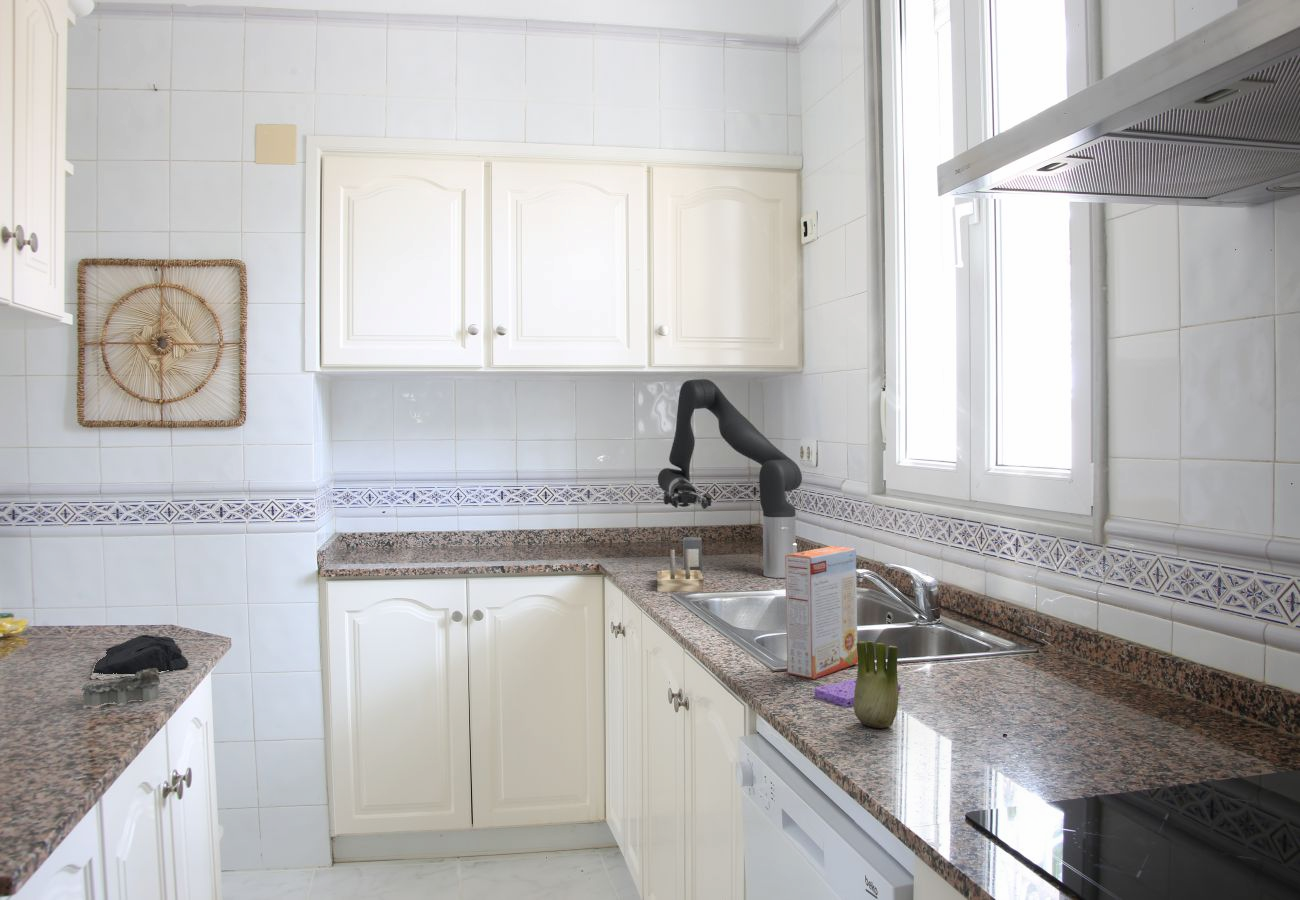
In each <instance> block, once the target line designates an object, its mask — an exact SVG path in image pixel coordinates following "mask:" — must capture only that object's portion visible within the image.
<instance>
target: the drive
mask: <svg viewBox="0 0 1300 900" xmlns="http://www.w3.org/2000/svg"><path fill="white" fill-rule="evenodd" d="M682 541H683V543H682V544H683V546H682V550H683V553H682V554H683V555H682V556H683V559H682V561H683V563H682V564H683V570H685V550H686V549H689V550H690V570H701V573H702V574H703V564H702V563H703V557H702V556H703V549H702V548H703V547H702V544H703V542H702V541H703V540H702V537H701V536H693V537H692V536H690V537H689V536H688V537H687V536H685V537H683V539H682Z"/></svg>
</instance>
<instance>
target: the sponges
mask: <svg viewBox="0 0 1300 900" xmlns="http://www.w3.org/2000/svg"><path fill="white" fill-rule="evenodd" d="M856 680H857V678H854V679H851V680H845V681H841V682H837V683H830V684H827V685H826V684H825V685H822V686H816V687H814V688H813V689H814V691H813V695H814V698H818V699H821V700H824V701H828V702H830V703H834V704H837V705H841V706H844V707H845V708H847V707H848V708H849V707H854V693H855V685H856ZM901 689H902V687H901V684H898V694H899V693H900V692H901Z"/></svg>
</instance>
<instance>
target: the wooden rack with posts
mask: <svg viewBox="0 0 1300 900" xmlns="http://www.w3.org/2000/svg"><path fill="white" fill-rule="evenodd" d="M675 553H676V549H670V550H669V554H670V555H669V560H670V561H669V566H670V567H669V569H667V570H663V569H662V570H657V575H656V576H657V577H656V578H657V579H656V581H657V585H656V587H657V592H662V593H663V592H664V593H665V592H700V591H699V590H704V577H703V572H702V573H701V570H690V550H689V549H686V550H685V570H681V569H677V570H676V568H675V567H676V559H675V558H676V554H675ZM704 591H705V590H704Z"/></svg>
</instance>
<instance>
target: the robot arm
mask: <svg viewBox="0 0 1300 900" xmlns="http://www.w3.org/2000/svg"><path fill="white" fill-rule="evenodd" d="M699 409H706V410H708V411H710V413H712V414H713V415H714V416H715V417H716V419H717V421H718V430H719V432H720V434H719V435H720V436H721V438H723V440H725V441H724V442H726V443H727V444H728V446H730V447H731V448H732V449H733V450H734V451H736V452H737V453H739V454H740V455H742V456H744V457H746V458H748V459H750V460H752V461H754V462H756V463H757V464H759V465H760V466H761V467H760V470H759V475H758V483H759V486H758V487H759V501H760V506H761V510H762V522H763V523H762V528H763V529H762V539H763V540H762V544H763V545H762V548H763V550H762V551H763V553H762V557H763V559H762V561H763V563H762V565H763V566H762V567H763V568H762V570H763V572H762V573H763V576H764V577H767V578H776V579H777V578H778V579H781V578H782V579H784V578H785V555H787V554H792V553H798V543H797V541H796V540H797V539H796V536H797V535H796V533H797V532H796V525H797V524H796V518H797V517H796V506H795V505H794V504H791V503H790V502H789V501H787V499H786V493H787V492H792V491H795V490H796V489H798V488H799V487H800V486H801V484H802V481H803V475H802V471H801V468H800V467H799V465H798V464H797V463H796V462H795V461H794V460H793V459H792V458H790V457H788V456H787V455H786V454H785V453H784V452H782V451H781V450H780V449H778V448H777V447H776V446H775V445H774V444H773V443H772V442H770V439H767V437H766V436H765V435H764V434H762V432H761V431H759V430H758V428H756V427H755V425H754V424H752V422H751V421H750V420H748V419H747V418H746V417H745V416H744V415H743V414H742V413H741V412H740V411H739V410H738V409H737V408H736V407H735V406H734V405H733V404H732V403H731V402H730V401H729V399H728V398H727V397H726V396H725V395H724V393H723V392H722V391H721V390H720V388H719V387H718V386H717V385H716V383H714V382H713V380H710V379H705V378H704V379H703V378H701V379H699V378H698V379H688V380H686V381H684V382H683V383H682V385H681V387H680V390H679V393H678V403H677V411H676V423H675V424H676V425H675V432H674V438H673V442H672V446H671V450H670V452H669V456H668V460H669V463H670V464H671V465H673V466H674V467H677V468H678V469H676V468H675V469H674V468H671V467H670V468H669V467H667V468H663V469H661V470H660V472H659V473H658V474H657V483H658V486H659V488H660V489H662V490H663V495H662V501H663V504H664V505H669V504H670V505H671V506H673V507H674V508H676V509H677V508H678V507H682V508H686V507H689V506H691V505H692V506H696V507H699V506H700V507H702V509H703V510H705V509H707V508H708V507H711V506H712V500H713V499H712V497H711V495H710V494H708V493H703V494H702V495H701V494H699V493H697V491H696V489H695V487H694V486H693V485H692V483H691V476H690V468H691V467H690V465H691V461H692V456H693V454H694V449H695V441H696V439H695V435H694V430H693V427H692V417H693V414H694V412H695V410H699ZM679 469H680V470H679Z"/></svg>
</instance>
